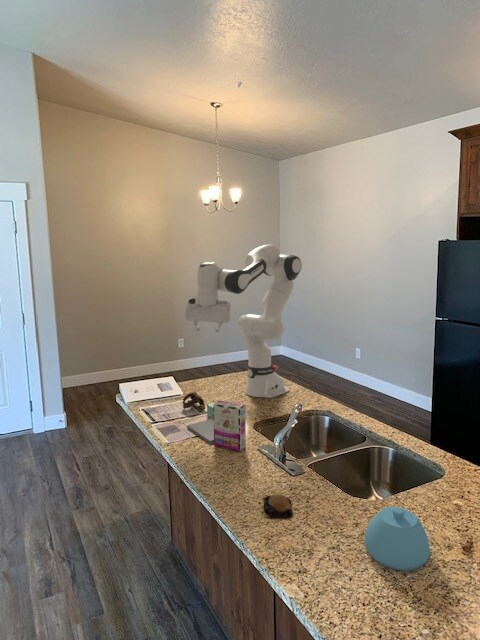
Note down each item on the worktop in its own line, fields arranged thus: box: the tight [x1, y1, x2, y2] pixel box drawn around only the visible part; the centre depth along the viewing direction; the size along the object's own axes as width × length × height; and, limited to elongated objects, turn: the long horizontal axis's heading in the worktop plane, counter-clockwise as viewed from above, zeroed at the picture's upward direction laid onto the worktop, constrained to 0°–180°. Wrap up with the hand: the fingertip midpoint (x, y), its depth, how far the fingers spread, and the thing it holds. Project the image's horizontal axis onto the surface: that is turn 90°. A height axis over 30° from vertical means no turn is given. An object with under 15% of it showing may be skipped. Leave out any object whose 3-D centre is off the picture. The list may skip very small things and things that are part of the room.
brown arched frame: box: [181, 391, 206, 410], centre depth 210 cm, size 12×10×8 cm
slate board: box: [187, 418, 214, 445], centre depth 184 cm, size 14×18×1 cm
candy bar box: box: [213, 400, 247, 453], centre depth 169 cm, size 11×5×16 cm, turn 62°
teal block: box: [206, 402, 216, 419], centre depth 200 cm, size 5×5×5 cm
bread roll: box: [262, 494, 294, 520], centre depth 131 cm, size 11×8×4 cm
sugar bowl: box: [363, 506, 431, 572], centre depth 112 cm, size 15×15×12 cm
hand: (207, 331), depth 202 cm, fingers open, 8 cm apart
